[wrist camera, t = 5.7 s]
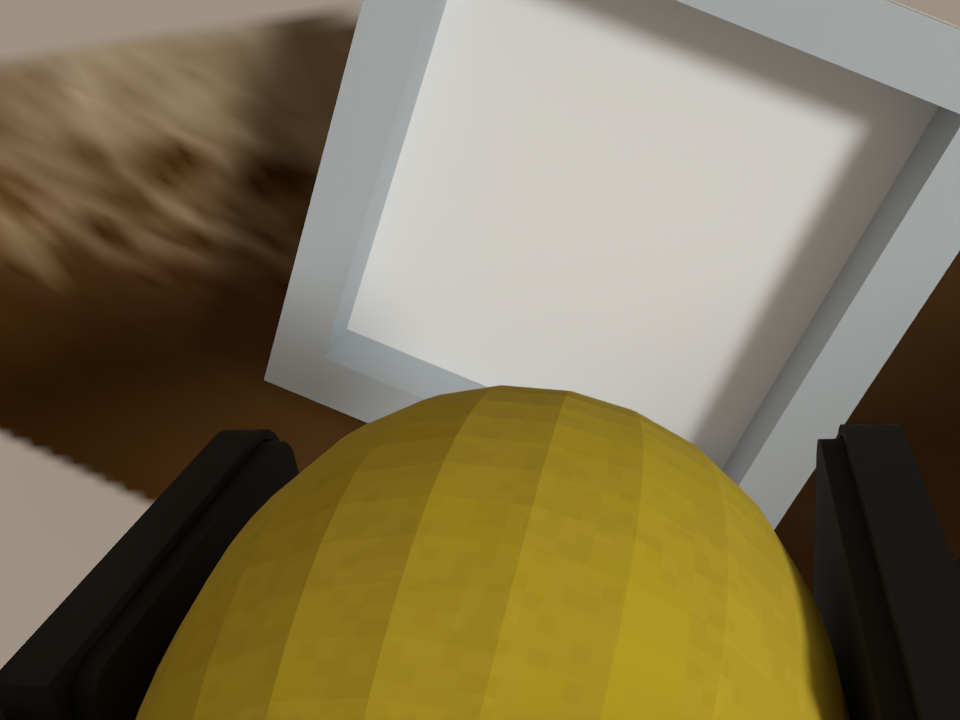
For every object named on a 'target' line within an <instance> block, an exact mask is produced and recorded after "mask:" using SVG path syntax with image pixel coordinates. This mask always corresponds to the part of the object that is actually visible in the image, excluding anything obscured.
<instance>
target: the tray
mask: <svg viewBox="0 0 960 720" xmlns="http://www.w3.org/2000/svg"><path fill="white" fill-rule="evenodd" d="M959 251H960V27H959V26H957V25H954V24H952V23H949V22H947V21H944V20H942V19H939V18H937V17H934V16H931V15H929V14H927V13H924V12H922V11H919V10H916V9H914V8H912V7H909V6H906V5H904V4H901V3H899V2H896V1H894V0H363V2H362V5H361V9H360V13H359V17H358V21H357V25H356V28H355V32H354V36H353V40H352V44H351V48H350V51H349V55H348V59H347V63H346V67H345V71H344V74H343V78H342V82H341V86H340V90H339V94H338V97H337V101H336V105H335V109H334V113H333V117H332V120H331V124H330V128H329V132H328V136H327V140H326V144H325V147H324V151H323V155H322V159H321V163H320V167H319V170H318V174H317V178H316V182H315V186H314V190H313V193H312V197H311V201H310V205H309V209H308V213H307V216H306V220H305V224H304V228H303V232H302V236H301V239H300V243H299V247H298V251H297V255H296V259H295V262H294V266H293V270H292V274H291V278H290V282H289V285H288V289H287V293H286V297H285V301H284V305H283V308H282V312H281V316H280V320H279V324H278V328H277V332H276V335H275V339H274V343H273V347H272V351H271V355H270V358H269V362H268V366H267V370H266V374H265V378H264V380H265V381H267V382H270V383H272V384H275V385H277V386H279V387H282V388H284V389H287V390H289V391H291V392H294V393H296V394H299V395H301V396H304V397H306V398H308V399H311V400H313V401H316V402H318V403H320V404H323V405H325V406H328V407H330V408H332V409H335V410H337V411H340V412H342V413H345V414H347V415H349V416H352V417H354V418H357V419H359V420H361V421H364V422H366V423H370V422H373V421H375V420H377V419H380V418H382V417H384V416H387V415H389V414H391V413H394V412H396V411H398V410H401V409H403V408H405V407H408V406H410V405H412V404H415V403H417V402H419V401H422V400H425V399H428V398H431V397H433V396H436V395H441V394H447V393H454V392H460V391H467V390H473V389H479V388H486V387H492V386H499V385H505V386H518V387H530V388H542V389H554V390H566V391H573V392H576V393H579V394H582V395H586V396H589V397H592V398H595V399H599V400H602V401H605V402H608V403H611V404H615V405H618V406H621V407H624V408H628V409H631V410H633V411H636V412H638V413H639V414H641V415H643V416H645V417H646V418H648V419H650V420H652V421H653V422H655V423H657V424H659V425H661V426H662V427H664V428H666V429H668V430H669V431H671V432H673V433H675V434H676V435H678V436H680V437H682V438H683V439H685V440H687V441H689V442H690V443H692V444H694V445H696V446H697V447H698V448H699V449H700V450H701V451H702V452H703V453H704V454H705V455H706V456H707V457H708V458H709V459H710V460H711V461H713V462H714V463H715V464H716V465H717V466H718V467H719V468H720V469H721V470H722V471H723V472H724V473H725V474H726V475H727V476H728V477H729V478H730V479H732V480H733V481H734V482H735V483H736V484H737V485H738V486H739V487H740V488H741V489H742V490H743V491H744V492H745V493H746V494H747V495H748V496H749V497H750V498H751V499H752V500H753V501H754V502H755V503H756V504H757V505H758V506H759V508H760V509H761V511H762V512H763V514H764V516H765V517H766V519H767V520H768V522H769V523H770V525H771V526H772V528H773V530H775V528H776V527H777V525H778V524H779V522H780V521H781V519H782V518H783V516H784V514H785V513H786V511H787V510H788V508H789V507H790V505H791V504H792V502H793V501H794V499H795V498H796V496H797V495H798V493H799V492H800V490H801V489H802V487H803V486H804V484H805V483H806V481H807V480H808V478H809V477H810V475H811V474H812V472H813V471H814V469H815V468H816V452H817V441H818V439H835V438H836V436H837V435H838V430H839V426H840V424H845V423H846V421H847V419H848V418H849V416H850V415H851V413H852V412H853V410H854V409H855V407H856V406H857V404H858V403H859V401H860V400H861V398H862V397H863V395H864V394H865V392H866V391H867V389H868V388H869V386H870V385H871V383H872V382H873V380H874V379H875V377H876V376H877V374H878V373H879V371H880V370H881V368H882V367H883V365H884V364H885V362H886V361H887V359H888V358H889V356H890V355H891V353H892V352H893V350H894V349H895V347H896V346H897V344H898V343H899V341H900V340H901V338H902V337H903V335H904V334H905V332H906V331H907V329H908V328H909V326H910V325H911V323H912V321H913V320H914V318H915V317H916V315H917V314H918V312H919V311H920V309H921V308H922V306H923V305H924V303H925V302H926V300H927V299H928V297H929V296H930V294H931V293H932V291H933V290H934V288H935V287H936V285H937V284H938V282H939V281H940V279H941V278H942V276H943V275H944V273H945V272H946V270H947V269H948V267H949V266H950V264H951V263H952V261H953V260H954V258H955V257H956V255H957V254H958V252H959Z"/></svg>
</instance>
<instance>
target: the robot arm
mask: <svg viewBox="0 0 960 720" xmlns="http://www.w3.org/2000/svg"><path fill="white" fill-rule="evenodd" d="M298 474H299V472H298V468H297V464H296V460H295V457H294V453H293V450H292V448H291V447H290V445H289V444H288V443H286V442H280V441H279V438H278V437H277V436H276V434H275V433H274V432H273V431H271V430H269V429H258V430H222V431H221V432H219V433H218V434H217V435H216V436H215V437H214V438H213V439H212V440H211V441H210V442H209V443H208V444H207V445H206V446H205V448H204V449H203V450H202V451H201V452H200V453H199V454H198V455H197V456H196V457H195V458H194V460H193V461H192V462H191V463H190V464H189V465H188V466H187V467H186V468H185V469H184V470H183V472H182V473H181V474H180V475H179V476H178V477H177V478H176V479H175V480H174V481H173V482H172V484H171V485H170V486H169V487H168V488H167V489H166V490H165V491H164V492H163V493H162V494H161V496H160V497H159V498H158V499H157V500H156V501H155V502H154V503H153V504H152V505H151V506H150V507H149V509H148V510H147V511H146V512H145V513H144V514H143V515H142V516H141V517H140V518H139V520H138V521H137V522H136V523H135V524H134V525H133V526H132V527H131V528H130V529H129V530H128V532H127V533H126V534H125V535H124V536H123V537H122V538H121V539H120V540H119V541H118V542H117V543H116V545H115V546H114V547H113V548H112V549H111V550H110V551H109V552H108V553H107V554H106V555H105V557H104V558H103V559H102V560H101V561H100V562H99V563H98V564H97V565H96V566H95V567H94V568H93V570H92V571H91V572H90V573H89V574H88V575H87V576H86V577H85V578H84V579H83V581H82V582H81V583H80V584H79V585H78V586H77V587H76V588H75V589H74V590H73V591H72V592H71V594H70V595H69V596H68V597H67V598H66V599H65V600H64V601H63V602H62V603H61V605H60V606H59V607H58V608H57V609H56V610H55V611H54V612H53V613H52V614H51V615H50V616H49V617H48V619H47V620H46V621H45V622H44V623H43V624H42V625H41V626H40V627H39V628H38V630H37V631H36V632H35V633H34V634H33V635H32V636H31V637H30V638H29V639H28V640H27V641H26V643H25V644H24V645H23V646H22V647H21V648H20V649H19V650H18V651H17V652H16V654H15V655H14V656H13V657H12V658H11V659H10V660H9V661H8V662H7V663H6V665H4V667H3V668H2V669H1V670H0V720H136V717H137V714H138V711H139V709H140V707H141V704H142V702H143V700H144V698H145V695H146V693H147V691H148V689H149V686H150V684H151V682H152V679H153V677H154V675H155V673H156V670H157V668H158V666H159V664H160V662H161V660H162V659H163V657H164V655H165V653H166V651H167V649H168V647H169V645H170V643H171V642H172V640H173V638H174V636H175V634H176V632H177V630H178V629H179V627H180V625H181V623H182V622H183V620H184V618H185V617H186V615H187V613H188V612H189V610H190V608H191V606H192V605H193V603H194V601H195V600H196V598H197V596H198V595H199V593H200V591H201V589H202V588H203V586H204V584H205V583H206V581H207V579H208V578H209V576H210V575H211V573H212V571H213V570H214V568H215V567H216V565H217V564H218V562H219V560H220V559H221V557H222V556H223V554H224V553H225V551H226V550H227V548H228V546H229V545H230V544H231V542H232V541H233V540H234V539H235V537H236V536H237V535H238V534H239V532H240V531H241V530H242V529H243V527H244V526H245V525H246V524H247V522H248V521H249V520H250V519H251V517H252V516H253V515H254V514H255V513H256V512H257V511H258V510H259V509H260V508H261V507H262V506H263V505H264V504H265V503H266V502H267V501H268V500H269V499H270V498H271V497H272V496H273V495H274V494H275V493H277V492H278V491H279V490H280V489H281V488H283V487H284V486H285V485H286V484H287V483H289V482H290V481H291V480H292V479H294V478H295V477H296V476H297V475H298ZM813 598H814V600H815V602H816V604H817V606H818V609H819V611H820V613H821V615H822V618H823V621H824V624H825V627H826V630H827V633H828V636H829V639H830V642H831V645H832V648H833V651H834V655H835V659H836V663H837V667H838V671H839V675H840V679H841V683H842V687H843V691H844V695H845V699H846V703H847V707H848V712H849V717H850V720H960V559H956V558H953V556H952V553H951V551H950V548H949V546H948V543H947V540H946V538H945V535H944V533H943V530H942V527H941V525H940V522H939V520H938V517H937V514H936V512H935V509H934V507H933V504H932V502H931V499H930V496H929V494H928V491H927V489H926V486H925V483H924V481H923V478H922V476H921V473H920V471H919V468H918V465H917V463H916V460H915V458H914V455H913V452H912V450H911V447H910V445H909V442H908V439H907V437H906V434H905V432H904V429H903V427H902V426H901V425H900V424H840V426H839V430H838V437H837V439H818V441H817V452H816V488H815V527H814V565H813Z"/></svg>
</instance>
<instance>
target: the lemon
mask: <svg viewBox="0 0 960 720" xmlns="http://www.w3.org/2000/svg"><path fill="white" fill-rule="evenodd" d="M136 720H850V717H849V712H848V707H847V703H846V699H845V695H844V691H843V687H842V683H841V679H840V675H839V671H838V667H837V663H836V659H835V655H834V651H833V648H832V645H831V642H830V639H829V636H828V633H827V630H826V627H825V624H824V621H823V618H822V615H821V613H820V611H819V609H818V606H817V604H816V602H815V600H814V598H813V596H812V593H811V591H810V589H809V587H808V585H807V584H806V582H805V580H804V579H803V577H802V575H801V574H800V572H799V571H798V569H797V567H796V566H795V564H794V562H793V561H792V559H791V558H790V556H789V554H788V553H787V551H786V549H785V548H784V546H783V544H782V543H781V541H780V540H779V538H778V536H777V535H776V533H775V531H774V530H773V528H772V526H771V525H770V523H769V522H768V520H767V519H766V517H765V516H764V514H763V512H762V511H761V509H760V508H759V506H758V505H757V504H756V503H755V502H754V501H753V500H752V499H751V498H750V497H749V496H748V495H747V494H746V493H745V492H744V491H743V490H742V489H741V488H740V487H739V486H738V485H737V484H736V483H735V482H734V481H733V480H732V479H730V478H729V477H728V476H727V475H726V474H725V473H724V472H723V471H722V470H721V469H720V468H719V467H718V466H717V465H716V464H715V463H714V462H713V461H711V460H710V459H709V458H708V457H707V456H706V455H705V454H704V453H703V452H702V451H701V450H700V449H699V448H698V447H697V446H696V445H694V444H692V443H690V442H689V441H687V440H685V439H683V438H682V437H680V436H678V435H676V434H675V433H673V432H671V431H669V430H668V429H666V428H664V427H662V426H661V425H659V424H657V423H655V422H653V421H652V420H650V419H648V418H646V417H645V416H643V415H641V414H639V413H638V412H636V411H633V410H631V409H628V408H624V407H621V406H618V405H615V404H611V403H608V402H605V401H602V400H599V399H595V398H592V397H589V396H586V395H582V394H579V393H576V392H573V391H566V390H554V389H542V388H530V387H518V386H505V385H499V386H492V387H486V388H479V389H473V390H467V391H460V392H454V393H447V394H441V395H436V396H433V397H431V398H428V399H425V400H422V401H419V402H417V403H415V404H412V405H410V406H408V407H405V408H403V409H401V410H398V411H396V412H394V413H391V414H389V415H387V416H384V417H382V418H380V419H377V420H375V421H373V422H370V423H368V424H366V425H363V426H362V427H360V428H358V429H357V430H355V431H353V432H352V433H350V434H348V435H347V436H345V437H343V438H342V439H341V440H340V441H338V442H337V443H336V444H335V445H334V446H332V447H331V448H330V449H329V450H327V451H326V452H325V453H324V454H323V455H321V456H320V457H319V458H318V459H317V460H315V461H314V462H313V463H312V464H310V465H309V466H308V467H307V468H306V469H304V470H303V471H302V472H301V473H300V474H298V475H297V476H296V477H295V478H294V479H292V480H291V481H290V482H289V483H287V484H286V485H285V486H284V487H283V488H281V489H280V490H279V491H278V492H277V493H275V494H274V495H273V496H272V497H271V498H270V499H269V500H268V501H267V502H266V503H265V504H264V505H263V506H262V507H261V508H260V509H259V510H258V511H257V512H256V513H255V514H254V515H253V516H252V517H251V519H250V520H249V521H248V522H247V524H246V525H245V526H244V527H243V529H242V530H241V531H240V532H239V534H238V535H237V536H236V537H235V539H234V540H233V541H232V542H231V544H230V545H229V546H228V548H227V550H226V551H225V553H224V554H223V556H222V557H221V559H220V560H219V562H218V564H217V565H216V567H215V568H214V570H213V571H212V573H211V575H210V576H209V578H208V579H207V581H206V583H205V584H204V586H203V588H202V589H201V591H200V593H199V595H198V596H197V598H196V600H195V601H194V603H193V605H192V606H191V608H190V610H189V612H188V613H187V615H186V617H185V618H184V620H183V622H182V623H181V625H180V627H179V629H178V630H177V632H176V634H175V636H174V638H173V640H172V642H171V643H170V645H169V647H168V649H167V651H166V653H165V655H164V657H163V659H162V660H161V662H160V664H159V666H158V668H157V670H156V673H155V675H154V677H153V679H152V682H151V684H150V686H149V689H148V691H147V693H146V695H145V698H144V700H143V702H142V704H141V707H140V709H139V711H138V714H137V717H136Z"/></svg>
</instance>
